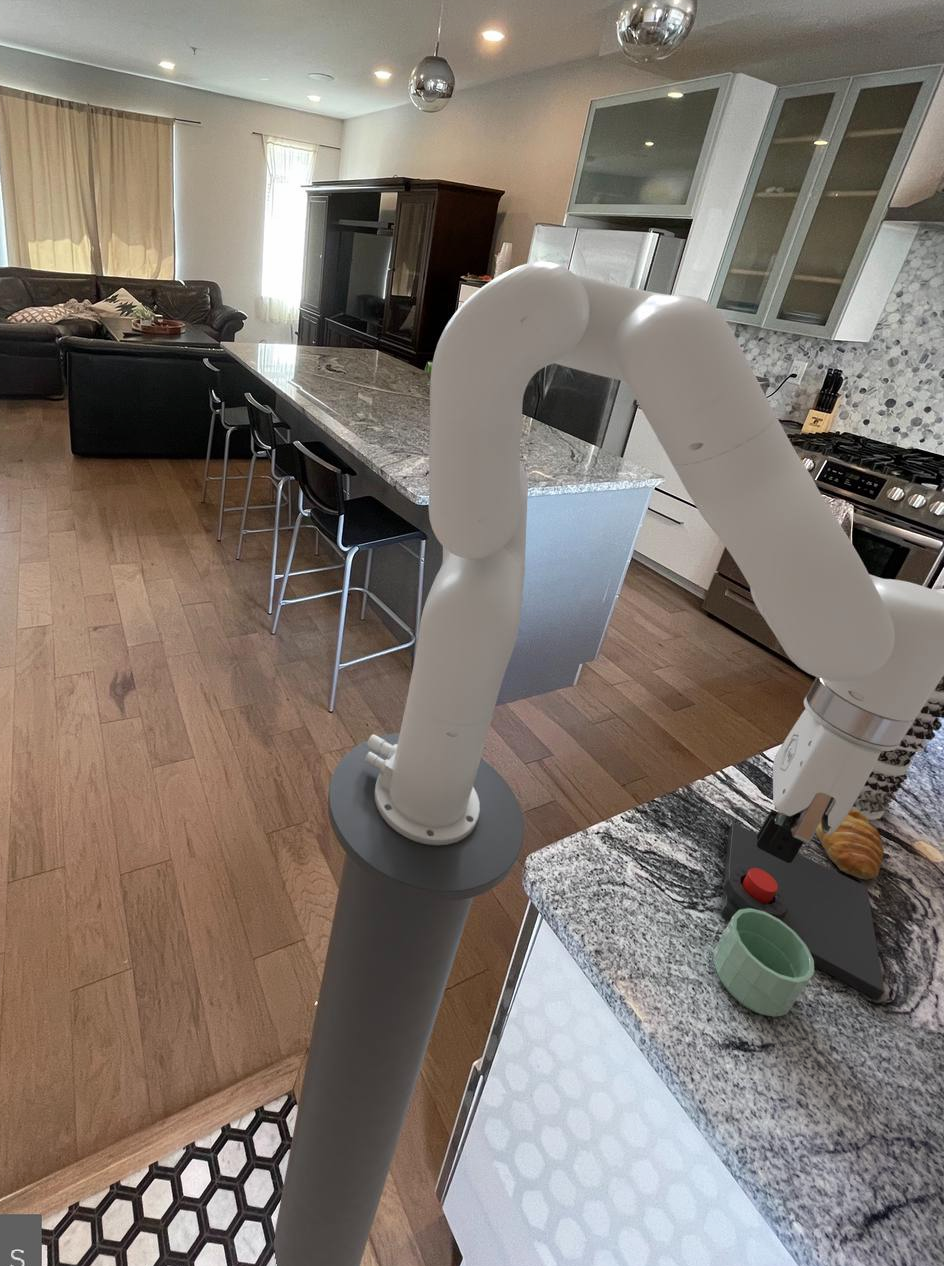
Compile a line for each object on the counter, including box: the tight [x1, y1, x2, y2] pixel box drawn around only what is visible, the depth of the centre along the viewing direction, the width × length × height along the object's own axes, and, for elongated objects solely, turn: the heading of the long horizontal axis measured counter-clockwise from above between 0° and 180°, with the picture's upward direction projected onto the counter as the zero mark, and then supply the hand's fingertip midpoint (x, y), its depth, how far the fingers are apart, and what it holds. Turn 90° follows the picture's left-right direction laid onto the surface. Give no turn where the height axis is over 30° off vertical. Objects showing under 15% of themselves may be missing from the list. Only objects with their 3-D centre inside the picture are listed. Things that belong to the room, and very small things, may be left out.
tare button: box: [743, 868, 778, 903], centre depth 67 cm, size 3×3×2 cm
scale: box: [720, 822, 885, 1001], centre depth 69 cm, size 14×14×3 cm
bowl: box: [712, 908, 815, 1018], centre depth 59 cm, size 7×7×6 cm
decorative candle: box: [852, 676, 944, 821], centre depth 82 cm, size 9×9×25 cm
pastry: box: [815, 808, 884, 881], centre depth 77 cm, size 9×7×4 cm
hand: (772, 850), depth 65 cm, fingers closed
